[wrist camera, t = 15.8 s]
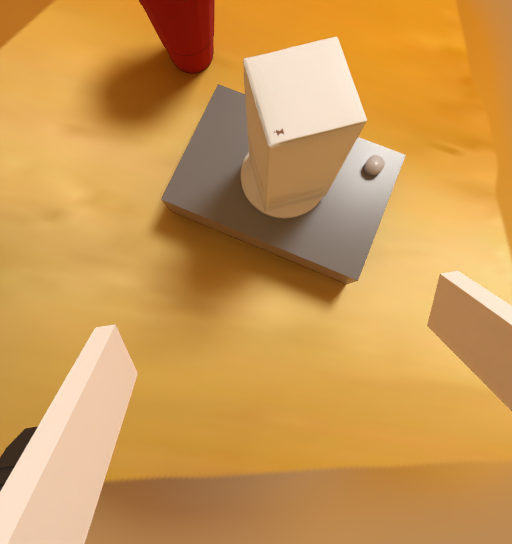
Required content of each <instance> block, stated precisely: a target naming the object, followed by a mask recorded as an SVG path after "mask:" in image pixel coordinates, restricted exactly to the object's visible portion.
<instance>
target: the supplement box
mask: <svg viewBox="0 0 512 544" xmlns="http://www.w3.org/2000/svg"><path fill="white" fill-rule="evenodd" d="M243 63H244V86H245V101H246V115H247V129H248V146H249V158H250V162H251V166H252V170H253V173H254V177H255V180H256V184H257V187H258V191H259V194H260V198H261V201H262V205H263V208H264V211H265V212H266V211H270V210H274V209H278V208H282V207H286V206H290V205H294V204H298V203H302V202H306V201H310V200H313V199H317V198H321V197H324V196H326V194H327V193H328V191H329V189H330V187H331V185H332V184H333V182H334V180H335V178H336V176H337V174H338V172H339V171H340V169H341V167H342V165H343V163H344V161H345V160H346V158H347V156H348V154H349V152H350V150H351V149H352V147H353V145H354V143H355V141H356V140H357V138H358V136H359V134H360V132H361V130H362V129H363V127H364V125H365V123H366V122H367V119H366V116H365V113H364V110H363V107H362V105H361V102H360V99H359V96H358V93H357V91H356V88H355V85H354V82H353V79H352V77H351V74H350V71H349V68H348V65H347V63H346V60H345V57H344V54H343V51H342V48H341V46H340V43H339V40H338V37H333V38H329V39H324V40H320V41H316V42H312V43H308V44H304V45H300V46H295V47H291V48H288V49H284V50H280V51H276V52H272V53H267V54H263V55H258V56H254V57H249V58H245V59H244V61H243Z"/></svg>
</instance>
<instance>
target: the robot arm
mask: <svg viewBox="0 0 512 544" xmlns="http://www.w3.org/2000/svg"><path fill="white" fill-rule="evenodd" d="M427 326H428V327H429V328H430V329H431V330H432V331H433V332H434V333H435V334H436V335H437V336H438V337H439V338H440V339H441V340H442V341H443V342H444V343H445V344H446V345H447V346H448V347H449V348H450V349H451V350H452V351H453V352H454V353H455V354H456V355H457V356H458V357H459V358H460V359H461V360H462V361H463V362H464V363H465V364H466V365H467V366H468V367H469V368H470V369H471V370H472V371H473V372H474V373H475V374H476V375H477V376H478V377H479V378H480V379H481V380H482V381H483V382H484V383H485V384H486V385H487V386H488V388H489V389H490V390H491V391H492V392H493V393H494V394H495V395H496V396H497V397H498V398H499V399H500V400H501V401H502V402H503V403H504V404H505V405H506V406H507V407H508V408H509V409H510V410H511V411H512V306H511V305H510V304H508V303H506V302H505V301H503V300H502V299H500V298H499V297H497V296H496V295H494V294H493V293H491V292H490V291H488V290H486V289H485V288H483V287H482V286H480V285H479V284H477V283H476V282H474V281H473V280H471V279H470V278H468V277H467V276H465V275H463V274H462V273H460V272H459V271H454V272H448V273H442V274H440V276H439V280H438V284H437V288H436V292H435V296H434V300H433V304H432V308H431V312H430V316H429V320H428V324H427ZM137 374H138V373H137V371H136V369H135V366H134V364H133V362H132V360H131V358H130V355H129V353H128V351H127V349H126V347H125V344H124V342H123V340H122V338H121V336H120V333H119V331H118V329H117V327H116V325H109V326H103V327H96V328H95V329H94V331H93V333H92V334H91V336H90V338H89V339H88V341H87V343H86V345H85V346H84V348H83V350H82V352H81V353H80V355H79V357H78V358H77V360H76V362H75V364H74V365H73V367H72V369H71V370H70V372H69V374H68V376H67V377H66V379H65V381H64V383H63V384H62V386H61V388H60V389H59V391H58V393H57V395H56V396H55V398H54V400H53V402H52V403H51V405H50V407H49V408H48V410H47V412H46V414H45V415H44V417H43V419H42V421H41V422H40V424H39V426H38V427H32V428H26V429H24V430H23V432H22V433H21V434H20V435H19V436H18V437H17V438H16V439H15V440H14V441H13V442H12V443H11V444H10V445H9V446H8V447H7V448H6V450H5V451H4V453H3V454H2V456H1V457H0V544H85V540H86V537H87V534H88V531H89V528H90V525H91V521H92V518H93V515H94V512H95V508H96V505H97V502H98V499H99V495H100V493H101V489H102V486H103V483H104V480H105V477H106V473H107V470H108V467H109V464H110V461H111V457H112V454H113V451H114V448H115V445H116V441H117V438H118V435H119V432H120V429H121V425H122V422H123V419H124V416H125V413H126V409H127V406H128V403H129V400H130V397H131V393H132V390H133V387H134V384H135V381H136V377H137Z"/></svg>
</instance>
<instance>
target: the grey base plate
mask: <svg viewBox="0 0 512 544" xmlns="http://www.w3.org/2000/svg"><path fill="white" fill-rule="evenodd" d="M404 158H405V155H404V154H402V153H399V152H396V151H394V150H391V149H388V148H386V147H383V146H380V145H378V144H375V143H372V142H370V141H367V140H364V139H362V138H359V137H358V138H357V140H356V141H355V143H354V145H353V147H352V149H351V150H350V152H349V154H348V156H347V158H346V160H345V161H344V163H343V165H342V167H341V169H340V171H339V172H338V174H337V176H336V178H335V180H334V182H333V184H332V185H331V187H330V189H329V191H328V193H327V194H326V196H324V197H321V198H317V199H313V200H310V201H306V202H302V203H298V204H294V205H290V206H286V207H282V208H278V209H274V210H270V211H266V212H265V211H264V208H263V205H262V201H261V198H260V194H259V191H258V187H257V184H256V180H255V177H254V173H253V170H252V166H251V162H250V158H249V146H248V129H247V115H246V101H245V94H243V93H240V92H237V91H235V90H232V89H229V88H227V87H224V86H221V85H219V84H218V85H217V87H216V90H215V92H214V94H213V96H212V98H211V100H210V102H209V104H208V106H207V108H206V110H205V112H204V114H203V116H202V118H201V120H200V122H199V124H198V126H197V128H196V130H195V132H194V134H193V136H192V138H191V140H190V142H189V144H188V146H187V148H186V150H185V152H184V154H183V156H182V158H181V160H180V162H179V164H178V166H177V168H176V170H175V172H174V174H173V176H172V178H171V180H170V182H169V184H168V186H167V188H166V190H165V192H164V195H163V197H162V199H161V200H162V201H163V202H164V203H165V204H166V206H167V207H168V208H169V209H170V210H171V211H172V212H174V213H176V214H179V215H181V216H183V217H186V218H188V219H191V220H193V221H196V222H198V223H200V224H203V225H205V226H208V227H210V228H212V229H215V230H217V231H220V232H222V233H224V234H227V235H229V236H232V237H234V238H237V239H239V240H241V241H244V242H246V243H249V244H251V245H253V246H256V247H258V248H261V249H263V250H265V251H268V252H270V253H273V254H275V255H277V256H280V257H282V258H285V259H287V260H290V261H292V262H294V263H297V264H299V265H302V266H304V267H306V268H309V269H311V270H314V271H316V272H318V273H321V274H323V275H326V276H328V277H330V278H333V279H335V280H338V281H340V282H343V283H345V284H349V283H352V282H355V281H358V279H359V276H360V274H361V271H362V268H363V266H364V263H365V261H366V258H367V255H368V253H369V250H370V247H371V245H372V242H373V239H374V237H375V234H376V232H377V229H378V226H379V224H380V221H381V218H382V216H383V213H384V211H385V208H386V205H387V203H388V200H389V197H390V195H391V192H392V189H393V187H394V184H395V182H396V179H397V176H398V174H399V171H400V168H401V166H402V163H403V161H404Z"/></svg>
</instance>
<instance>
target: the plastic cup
mask: <svg viewBox="0 0 512 544" xmlns="http://www.w3.org/2000/svg"><path fill="white" fill-rule="evenodd" d="M139 1H140V3H141V5H142V6H143V8H144V9H145V11H146V13H147V15H148V17H149V19H150V21H151V23H152V25H153V26H154V28H155V30H156V32H157V34H158V36H159V38H160V40H161V42H162V43H163V45H164V47H165V48H166V49H167V51H168V53H169V55H170V57H171V59H172V61H173V62H174V63H175V65H176V66H177V67H178V68H179V69H180V70H182V71H185V72H188V73H197V72H200V71H202V70H204V69H206V68H207V67H208V66H209V65H210V63H211V61H212V58H213V36H214V0H139Z"/></svg>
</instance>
